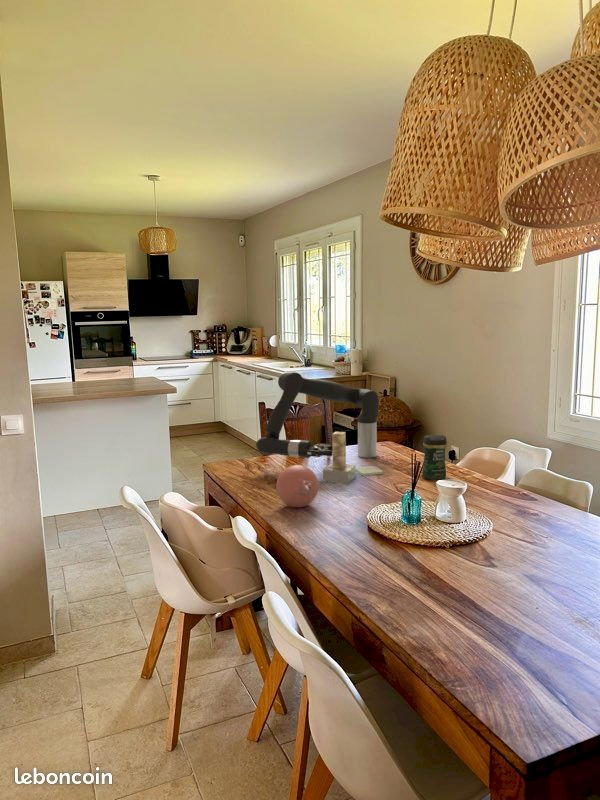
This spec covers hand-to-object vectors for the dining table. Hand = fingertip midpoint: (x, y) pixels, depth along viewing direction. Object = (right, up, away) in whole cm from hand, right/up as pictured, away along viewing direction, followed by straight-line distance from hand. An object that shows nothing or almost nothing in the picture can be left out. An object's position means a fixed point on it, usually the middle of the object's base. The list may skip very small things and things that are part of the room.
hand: (335, 451), depth 243 cm
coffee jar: (+42, -12, 0) cm, 44 cm away
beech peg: (+2, -12, +1) cm, 12 cm away
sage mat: (+15, -10, +11) cm, 21 cm away
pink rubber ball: (-15, -18, -36) cm, 43 cm away
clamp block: (+2, -12, +1) cm, 12 cm away
